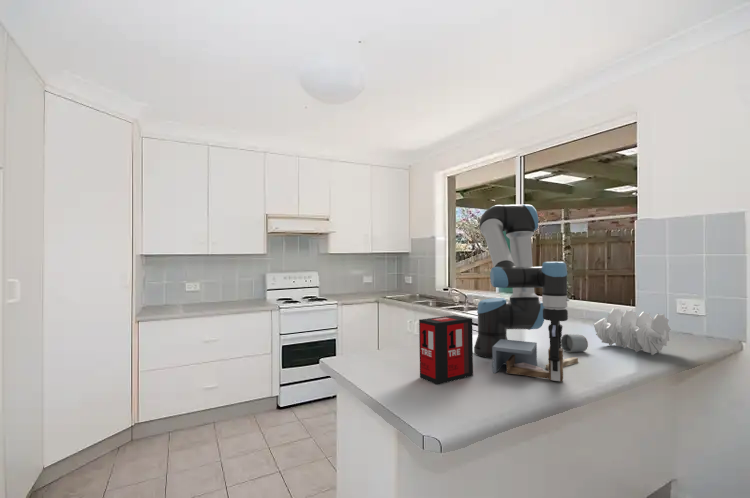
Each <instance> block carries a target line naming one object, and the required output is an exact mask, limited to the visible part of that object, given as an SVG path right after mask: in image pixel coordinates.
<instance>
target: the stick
mask: <svg viewBox="0 0 750 498" xmlns="http://www.w3.org/2000/svg"><path fill="white" fill-rule="evenodd" d="M577 363H579V357H575V356H573V357H567V358H563V368H564V367H567V366H571V365H573V364H577ZM545 370H546V371H549V363H546V364H545Z"/></svg>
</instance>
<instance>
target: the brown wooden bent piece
mask: <svg viewBox="0 0 750 498" xmlns="http://www.w3.org/2000/svg"><path fill="white" fill-rule="evenodd" d="M547 354H548V358H550V346H549V347H548V353H547ZM559 359H560V360H559V361H560V381H559V382H561V383H563V381H564V367H563V360H564V349H563V348H562V347H561V348H559ZM514 364H515V355H511V357H510V358H509V359H508V360H507V364H506V374H512V375H520V376H524V377H525V376H527V377H533V378H534V377H535V378H541V379H546V380H548V381H552V380H551V360H548V364H549V370H544V369H543V370H536V369H529V368H521V367H514Z"/></svg>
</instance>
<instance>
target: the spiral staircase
mask: <svg viewBox="0 0 750 498" xmlns="http://www.w3.org/2000/svg"><path fill="white" fill-rule="evenodd" d="M650 314H651V313H650V312H645V311H642V312H641V313H640V314H639V315H638V313H637V312H634V310H633V309H625V311H624V312H623V311H621V308H620V307H619V308H614V307H613V308H612V309H611V311H610V312H609V313H608V315H607V318H606V317H603V318H602V319H601V318H600V320H598V321H596V322H595V323H594V324H593V326H594V330H595V335H596V336H597V337H598V338H599V339H600V340H601V343H603V344H608V346H612V345H613V344H614V345H615V346H616V347H622V349H626V348H629V349H631V350H634V351H635V353H637V352H640V351H641V350H642V351H643V352H646V353H648V354H649V353H650V355H651V356H654V355H655V354H657V353H658V354H661V352H662V350H663V347H667V346H668V345H667V342H669V341H670V336H669V335H670V331H671V328H670V326H669V319H668V318H667V317H665V313H661V314H659V313H656V314H655V316H654V318H653V317H652V316H651V315H650Z"/></svg>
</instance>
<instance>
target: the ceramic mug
mask: <svg viewBox="0 0 750 498" xmlns="http://www.w3.org/2000/svg"><path fill="white" fill-rule="evenodd" d="M588 347H589V342H588V340H587V337H585V336H584V335H582V334H578V333H577V334H575V333H573V334H572V333H570V334H569V333H565V334H562V337H561V348H563V352H565V353H568V354H569V353H582V352H585V351H586V350H588Z"/></svg>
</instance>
